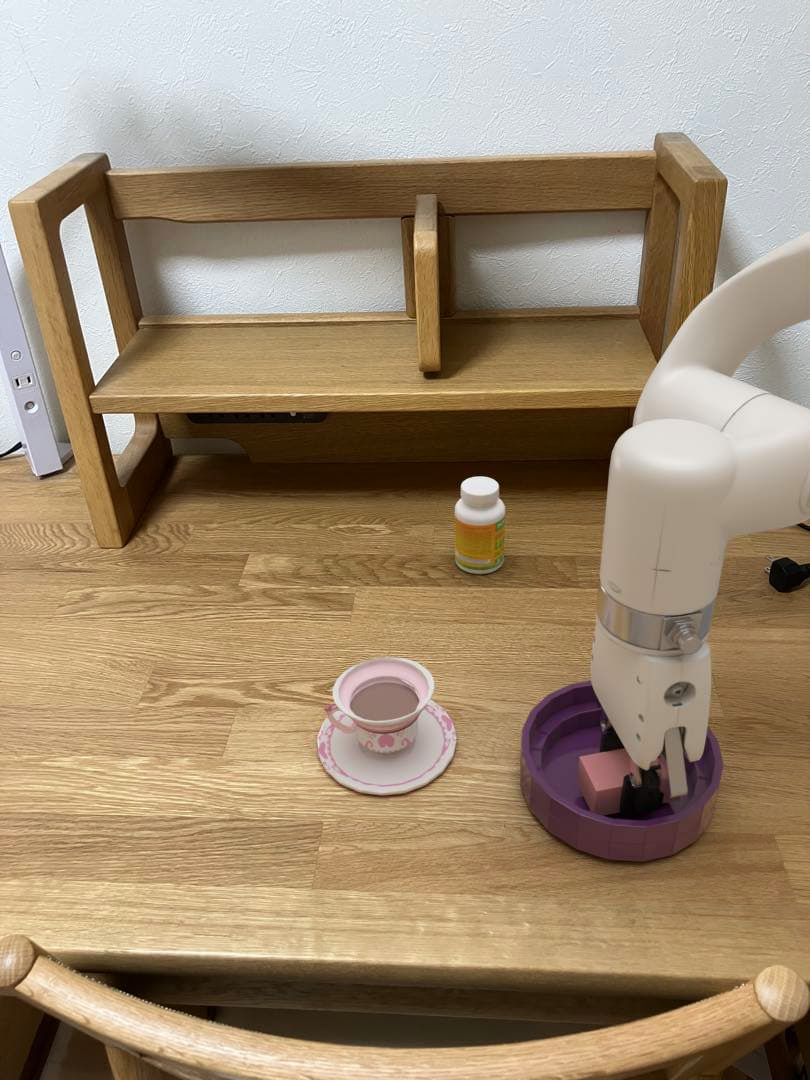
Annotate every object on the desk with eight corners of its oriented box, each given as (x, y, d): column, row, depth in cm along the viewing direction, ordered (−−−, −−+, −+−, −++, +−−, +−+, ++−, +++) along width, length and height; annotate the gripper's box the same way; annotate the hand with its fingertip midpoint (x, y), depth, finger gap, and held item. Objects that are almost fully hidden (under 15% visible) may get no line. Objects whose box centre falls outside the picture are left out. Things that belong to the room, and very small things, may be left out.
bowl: (661, 704, 80) (667, 666, 77) (750, 843, 67) (761, 803, 65) (496, 734, 77) (497, 696, 75) (557, 884, 65) (561, 845, 62)
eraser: (659, 766, 72) (664, 739, 70) (679, 800, 69) (684, 773, 67) (576, 782, 71) (579, 756, 69) (593, 817, 68) (596, 791, 66)
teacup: (433, 682, 83) (432, 630, 80) (475, 778, 73) (476, 724, 70) (306, 709, 81) (299, 657, 77) (332, 813, 71) (325, 758, 68)
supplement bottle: (502, 577, 96) (504, 499, 91) (452, 574, 97) (451, 497, 92) (505, 549, 101) (507, 473, 95) (457, 546, 102) (457, 471, 96)
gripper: (773, 675, 53) (725, 868, 63) (654, 528, 67) (630, 707, 77) (655, 698, 52) (626, 890, 62) (558, 543, 66) (547, 722, 76)
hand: (628, 787), depth 70 cm, fingers closed on eraser, 3 cm apart
